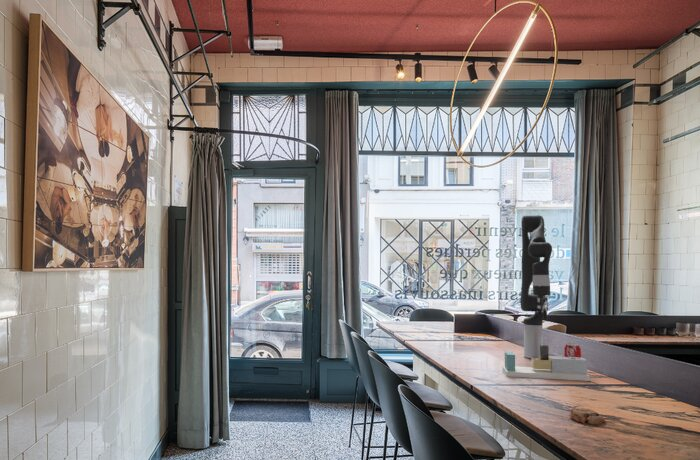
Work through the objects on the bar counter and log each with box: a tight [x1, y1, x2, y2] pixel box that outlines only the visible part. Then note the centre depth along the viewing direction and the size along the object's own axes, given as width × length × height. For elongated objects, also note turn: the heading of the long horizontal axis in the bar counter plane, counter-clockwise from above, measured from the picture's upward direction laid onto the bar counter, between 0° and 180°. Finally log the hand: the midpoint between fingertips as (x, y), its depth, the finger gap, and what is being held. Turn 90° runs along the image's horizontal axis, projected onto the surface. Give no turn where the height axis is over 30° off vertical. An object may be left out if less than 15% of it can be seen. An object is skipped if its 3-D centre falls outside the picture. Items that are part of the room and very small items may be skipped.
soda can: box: [563, 342, 582, 358], centre depth 219 cm, size 7×7×12 cm
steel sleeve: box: [549, 355, 588, 374], centre depth 206 cm, size 6×14×6 cm, turn 80°
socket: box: [504, 350, 516, 371], centre depth 210 cm, size 8×3×7 cm, turn 170°
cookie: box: [569, 407, 606, 426], centre depth 149 cm, size 10×11×3 cm
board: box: [502, 365, 591, 382], centre depth 207 cm, size 12×34×2 cm, turn 80°
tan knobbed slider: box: [531, 344, 552, 370], centre depth 207 cm, size 4×20×10 cm, turn 80°
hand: (542, 320), depth 217 cm, fingers open, 8 cm apart
